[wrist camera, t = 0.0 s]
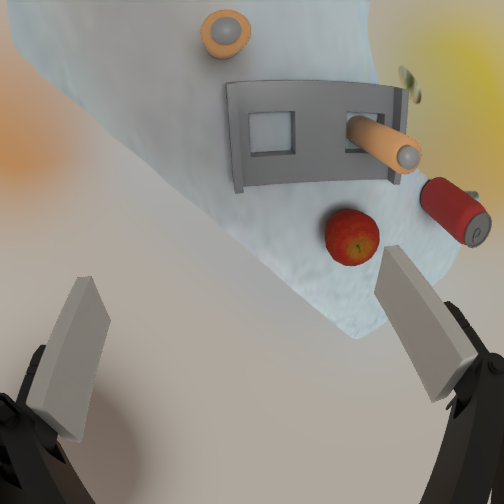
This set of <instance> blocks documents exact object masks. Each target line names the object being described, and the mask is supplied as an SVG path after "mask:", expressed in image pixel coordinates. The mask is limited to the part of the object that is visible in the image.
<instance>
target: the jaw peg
mask: <svg viewBox="0 0 504 504" xmlns="http://www.w3.org/2000/svg"><path fill="white" fill-rule="evenodd" d="M250 35H251V27H250V24H249V22H248V20H247V19H246V18H245V17H244V16H243V15H242V14H240V13H238V12H236V11H232V10H220V11H217V12H214V13H213V14H211V15H209V16H208V17H207V18H206V19H205V21H204V22H203V24H202V27H201V38H202V41H203V43H204V45H205V47H206V49H207V51H208V52H209V54H210V55H211V56H213V57H215V58H217V59H229V58H231V57H233V56H234V55H236V54H237V53H238V52H239V51H240V50H241V49H242V48H243V47H244V46H245V45H246V44H247V42H248V41H249V39H250Z"/></svg>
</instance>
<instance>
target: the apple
mask: <svg viewBox="0 0 504 504" xmlns="http://www.w3.org/2000/svg"><path fill="white" fill-rule="evenodd" d="M325 241H326V248H327V250H328V252H329V253H330V255H331V256H332V258H333V259H334V260H335V261H337V262H339V263H341V264H343V265H345V266H357V265H360V264H363V263H364V262H366V261H367V260H369V259H370V258H371V257H372V256H373V255H374V253H375V252H376V250H377V248H378V245H379V241H380V238H379V229H378V227H377V225H376V223H375V221H374V220H373V219H372V218H371V217H370V216H368V215H366V214H365V213H363V212H360V211H357V210H350V209H346V210H342V211H339V212H337V213H336V214H334V215H333V216H332V217H331V218H330V219H329V221H328V222H327V224H326V228H325Z"/></svg>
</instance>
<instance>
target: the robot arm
mask: <svg viewBox="0 0 504 504" xmlns="http://www.w3.org/2000/svg"><path fill="white" fill-rule="evenodd" d="M374 294H375V296H376V297H377V299H378V301H379V302H380V304H381V306H382V308H383V309H384V311H385V313H386V315H387V317H388V318H389V320H390V322H391V324H392V326H393V327H394V329H395V331H396V333H397V335H398V336H399V338H400V340H401V342H402V344H403V346H404V348H405V349H406V352H407V353H408V355H409V357H410V359H411V361H412V363H413V365H414V367H415V369H416V371H417V373H418V375H419V377H420V379H421V381H422V383H423V385H424V387H425V389H426V391H427V393H428V396H429V398H430V400H431V402H432V403H433V402H436V401H438V400H441V399H443V398H446V397H447V396H448V395H449V394H450V393H451V391H452V390H453V389H454V391H455V392H456V395H455V397H454V398H453V399H452V400H451V401H450V403H449V404H448V405H447V407H446V410H448V409H449V408H450V407H451V406H452V408H451V412H450V416H449V420H448V424H447V428H446V431H445V435H444V438H443V441H442V444H441V448H440V451H439V454H438V457H437V460H436V463H435V465H434V468H433V471H432V474H431V476H430V479H429V482H428V484H427V487H426V489H425V492H424V494H423V496H422V499H421V501H420V503H419V504H487V502H488V499H489V495H490V492H491V488H492V493H491V494H492V495H491V504H504V358H503V357H502V356H501V355H499V354H497V353H489V351H488V350H487V349H486V347H485V346H484V344H483V343H482V341H481V340H480V338H479V337H478V335H477V334H476V332H475V331H474V329H473V328H472V327H471V326H470V324H469V322H468V321H467V319H465V317H464V315H463V314H462V312H461V311H460V310H459V308H457V307H456V306H455V305H453V304H452V303H451V302H450V301H447V302H443V301H442V300H441V299H440V297H439V296H438V295H437V293H436V292H435V290H434V289H433V288H432V287H431V285H430V284H429V283H428V281H427V280H426V279H425V277H424V276H423V275H422V274H421V272H420V271H419V270H418V268H417V267H416V266H415V265H414V263H413V262H412V261H411V260H410V259H409V257H408V256H407V255H406V254H405V252H404V251H403V250H402V249H401V248H400V246H399V245H396V246H387V247H384V252H383V257H382V261H381V266H380V270H379V275H378V279H377V283H376V287H375V291H374ZM110 322H111V320H110V317H109V315H108V313H107V311H106V309H105V307H104V304H103V302H102V300H101V297H100V295H99V293H98V290H97V288H96V286H95V283H94V281H93V279H92V277H91V276H88V277H78V278H77V279H76V281H75V283H74V285H73V287H72V289H71V292H70V294H69V296H68V298H67V300H66V302H65V304H64V306H63V308H62V311H61V313H60V315H59V317H58V319H57V322H56V324H55V326H54V328H53V331H52V334H51V336H50V338H49V340H48V343H47V345H40V347H39V348H38V349H37V350H36V352H35V353H34V354H33V357H32V359H31V361H30V366H29V367H28V369H27V372H26V375H25V377H24V380H23V383H22V386H21V388H20V391H19V394H18V397H17V400H16V403H15V402H14V401H13V400H12V399H11V398H10V397H9V396H8V395H6V394H5V393H0V504H95V502H94V501H93V499H92V498H91V496H90V495H89V493H88V491H87V490H86V488H85V487H84V485H83V484H82V482H81V480H80V479H79V477H78V476H77V474H76V472H75V470H74V469H73V467H72V465H71V463H70V462H69V460H68V458H67V456H66V454H65V452H64V450H63V449H62V447H61V445H60V443H59V442H58V441H57V436H58V434H59V435H60V436H62V437H63V438H64V439H65V440H68V441H75V442H81V443H82V438H83V432H84V427H85V422H86V417H87V412H88V407H89V402H90V398H91V394H92V389H93V384H94V381H95V376H96V372H97V368H98V364H99V361H100V357H101V353H102V349H103V346H104V342H105V339H106V335H107V332H108V328H109V325H110Z"/></svg>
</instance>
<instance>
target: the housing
mask: <svg viewBox="0 0 504 504" xmlns="http://www.w3.org/2000/svg"><path fill="white" fill-rule="evenodd" d="M226 90H227V104H228V117H229V131H230V144H231V157H232V169H233V182H234V189H235V194H237V193H244V191H243V187H245V186H257V185H269V184H283V183H299V182H316V181H338V180H369V179H387V180H389V181H390V182H391V183H393V184H394V185H398V184H400V180H401V174H409V173H411V172H413V171H414V170H415V169H416V168H417V167H418V165H419V163H420V161H421V156H422V153H421V152H422V151H421V147H420V145H419V143H418V142H417V141H416V140H415V139H413V138H411V137H409V136H407V135H406V126H407V114H408V96H409V90H407V89H402V88H398V87H393V86H384V85H376V84H366V83H355V82H341V81H319V80H266V81H244V82H230V83H226ZM278 111H292V150H290V151H271V152H256V153H251V152H250V134H249V117H248V113H256V112H278ZM347 112H366V113H378V120H377V122H376V121H374V120H371V119H369V118H366V117H364V116H360V115H359V116H354V117H352V118H351V119H350V120H349V121H348V122H347V124H346V114H347ZM346 135H347V137H348V139H349V140H350V141H351V142H353V143H354V144H356V145H357V146H359V147H360V148H362V149H345V142H346Z"/></svg>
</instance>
